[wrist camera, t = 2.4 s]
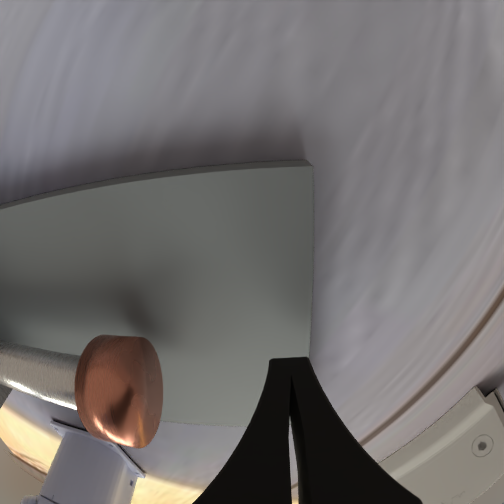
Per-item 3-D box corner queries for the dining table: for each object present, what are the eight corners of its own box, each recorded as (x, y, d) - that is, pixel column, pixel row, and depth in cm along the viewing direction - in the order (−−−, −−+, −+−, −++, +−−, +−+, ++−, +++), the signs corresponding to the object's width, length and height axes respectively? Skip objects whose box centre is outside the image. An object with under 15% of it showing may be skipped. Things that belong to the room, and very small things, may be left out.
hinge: (477, 383, 16) (532, 466, 8) (490, 375, 18) (539, 446, 10) (354, 477, 23) (388, 543, 15) (380, 465, 25) (412, 525, 17)
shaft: (170, 386, 12) (147, 466, 8) (-9, 351, 13) (-39, 391, 9) (142, 313, 11) (97, 402, 7) (-37, 299, 12) (-74, 337, 8)
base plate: (300, 404, 16) (302, 424, 15) (3, 367, 18) (-5, 377, 16) (306, 159, 10) (313, 166, 9) (-62, 225, 12) (-74, 233, 11)
